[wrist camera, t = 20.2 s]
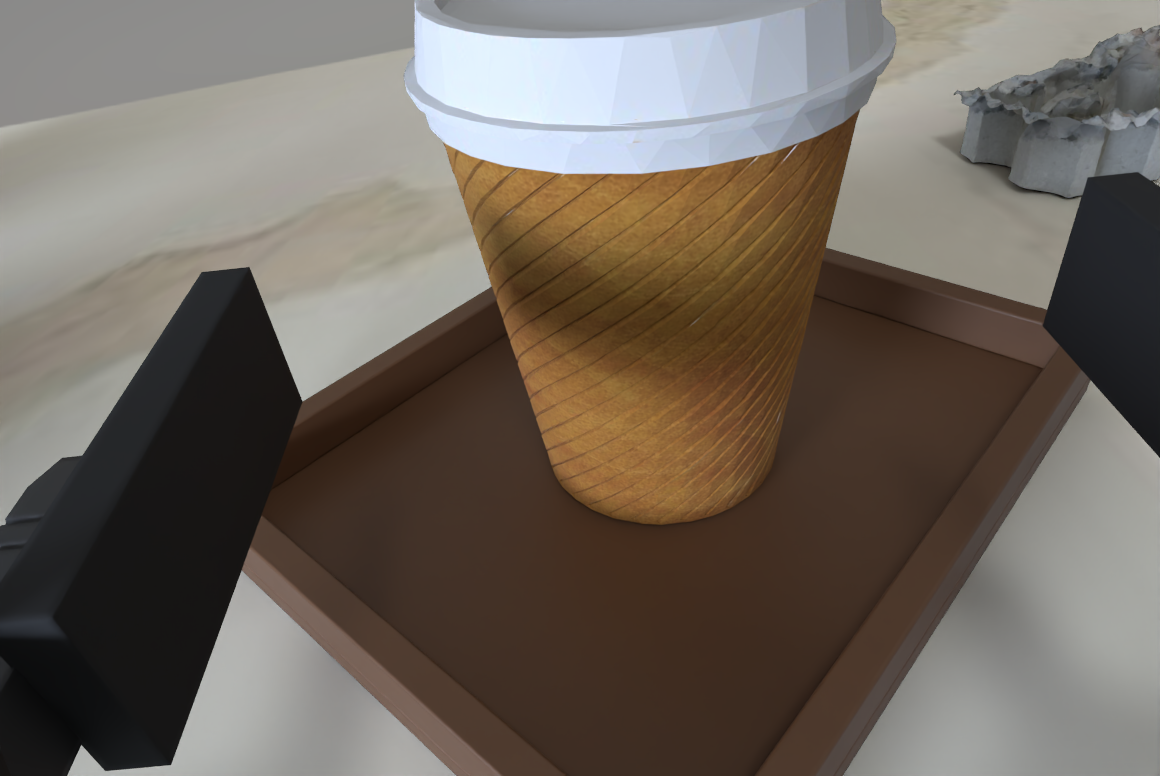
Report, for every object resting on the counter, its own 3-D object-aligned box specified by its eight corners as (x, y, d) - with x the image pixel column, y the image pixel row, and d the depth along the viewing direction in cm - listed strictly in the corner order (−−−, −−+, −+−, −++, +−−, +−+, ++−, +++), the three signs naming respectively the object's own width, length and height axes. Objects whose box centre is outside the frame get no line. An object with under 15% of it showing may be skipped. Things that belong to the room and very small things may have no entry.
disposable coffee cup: (838, 354, 25) (893, -89, 18) (836, 605, 18) (926, 38, 11) (544, 335, 28) (486, -64, 20) (440, 550, 20) (290, 55, 13)
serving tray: (207, 537, 23) (173, 479, 21) (643, 247, 33) (640, 194, 32) (696, 1007, 13) (696, 957, 12) (1086, 391, 24) (1110, 326, 23)
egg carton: (1138, 109, 40) (1167, 20, 37) (1270, 166, 34) (1316, 65, 31) (933, 143, 39) (949, 53, 36) (1032, 208, 33) (1060, 107, 30)
